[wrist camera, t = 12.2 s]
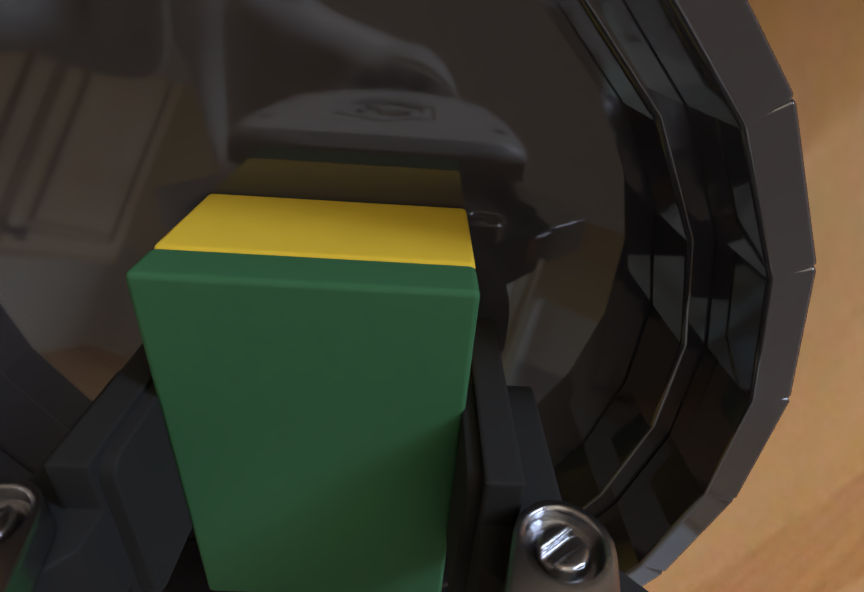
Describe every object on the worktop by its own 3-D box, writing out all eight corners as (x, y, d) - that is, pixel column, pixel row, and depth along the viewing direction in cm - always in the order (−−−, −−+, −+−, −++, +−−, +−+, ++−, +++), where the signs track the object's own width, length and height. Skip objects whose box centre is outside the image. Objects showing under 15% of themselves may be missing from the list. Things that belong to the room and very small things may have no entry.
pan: (3, 544, 15) (-104, 683, 12) (-513, -331, 6) (-1401, -634, 3) (587, 563, 16) (625, 700, 13) (868, -205, 7) (1212, -358, 4)
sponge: (253, 468, 13) (208, 592, 10) (208, 191, 9) (119, 273, 6) (438, 476, 13) (440, 600, 10) (466, 207, 9) (482, 292, 7)
